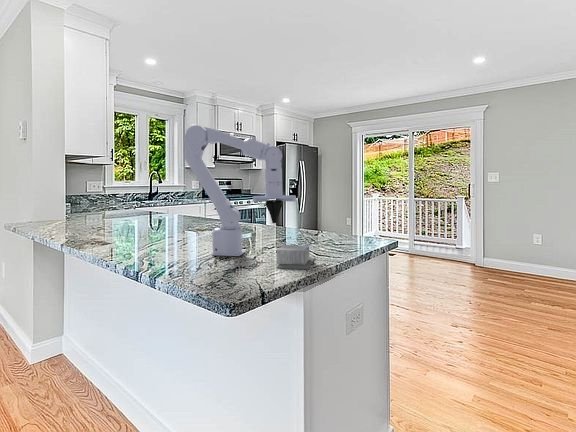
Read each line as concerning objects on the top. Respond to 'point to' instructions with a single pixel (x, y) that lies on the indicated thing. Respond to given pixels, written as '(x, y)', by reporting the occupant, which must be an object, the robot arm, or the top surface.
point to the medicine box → (293, 254)
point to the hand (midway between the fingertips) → (274, 222)
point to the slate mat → (288, 266)
